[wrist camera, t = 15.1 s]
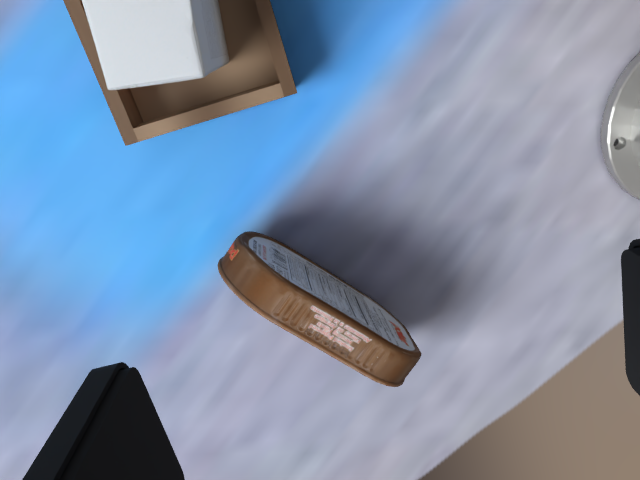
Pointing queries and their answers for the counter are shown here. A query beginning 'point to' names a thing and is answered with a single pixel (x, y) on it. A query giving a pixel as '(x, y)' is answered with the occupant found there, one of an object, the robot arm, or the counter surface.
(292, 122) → the counter surface
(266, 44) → the tray
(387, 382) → the tin
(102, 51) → the skincare box
